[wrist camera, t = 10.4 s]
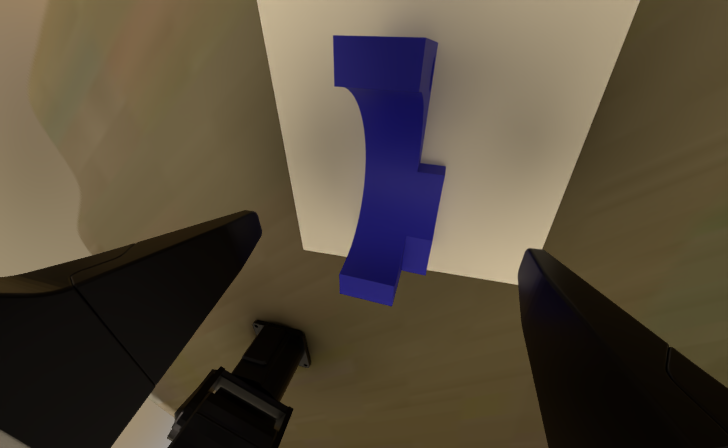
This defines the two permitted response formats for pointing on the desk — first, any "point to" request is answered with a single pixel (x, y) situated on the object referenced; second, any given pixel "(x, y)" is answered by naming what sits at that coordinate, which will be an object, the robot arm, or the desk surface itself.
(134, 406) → the robot arm
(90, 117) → the desk surface
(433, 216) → the cable clip
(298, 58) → the desk mat
